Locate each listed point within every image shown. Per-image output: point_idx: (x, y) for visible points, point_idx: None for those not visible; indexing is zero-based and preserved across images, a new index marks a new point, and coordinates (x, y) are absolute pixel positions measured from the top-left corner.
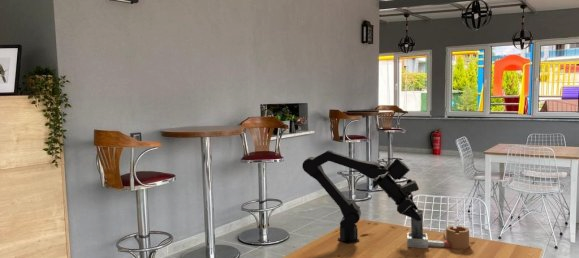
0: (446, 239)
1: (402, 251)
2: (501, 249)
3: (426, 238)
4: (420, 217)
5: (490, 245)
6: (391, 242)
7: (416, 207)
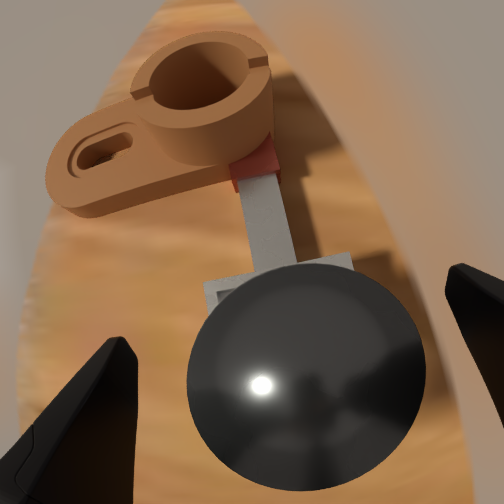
0: (229, 161)
1: (437, 385)
2: (217, 20)
3: None
4: (473, 272)
5: None
6: None
7: (84, 411)
